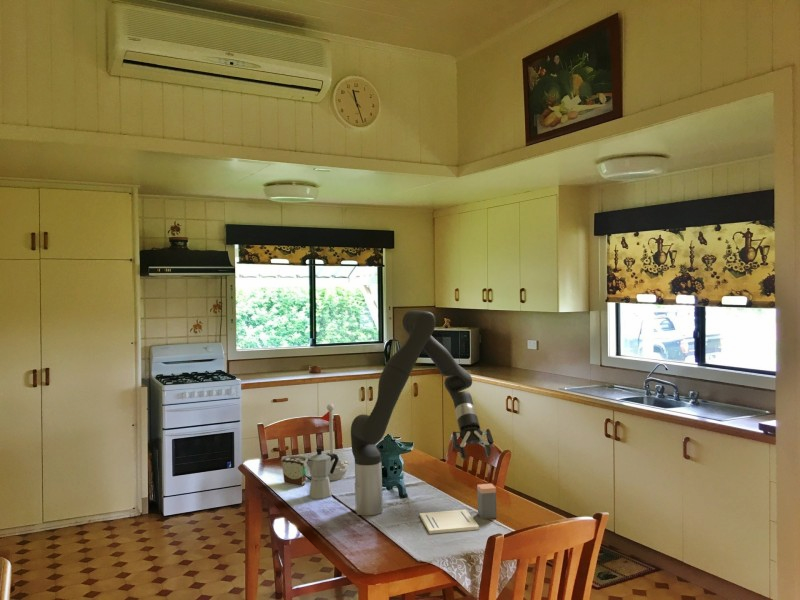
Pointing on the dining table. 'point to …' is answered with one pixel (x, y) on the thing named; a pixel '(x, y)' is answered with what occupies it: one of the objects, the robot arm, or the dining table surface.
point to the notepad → (448, 521)
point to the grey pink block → (486, 501)
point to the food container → (294, 470)
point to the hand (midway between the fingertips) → (476, 457)
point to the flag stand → (340, 467)
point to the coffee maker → (321, 474)
